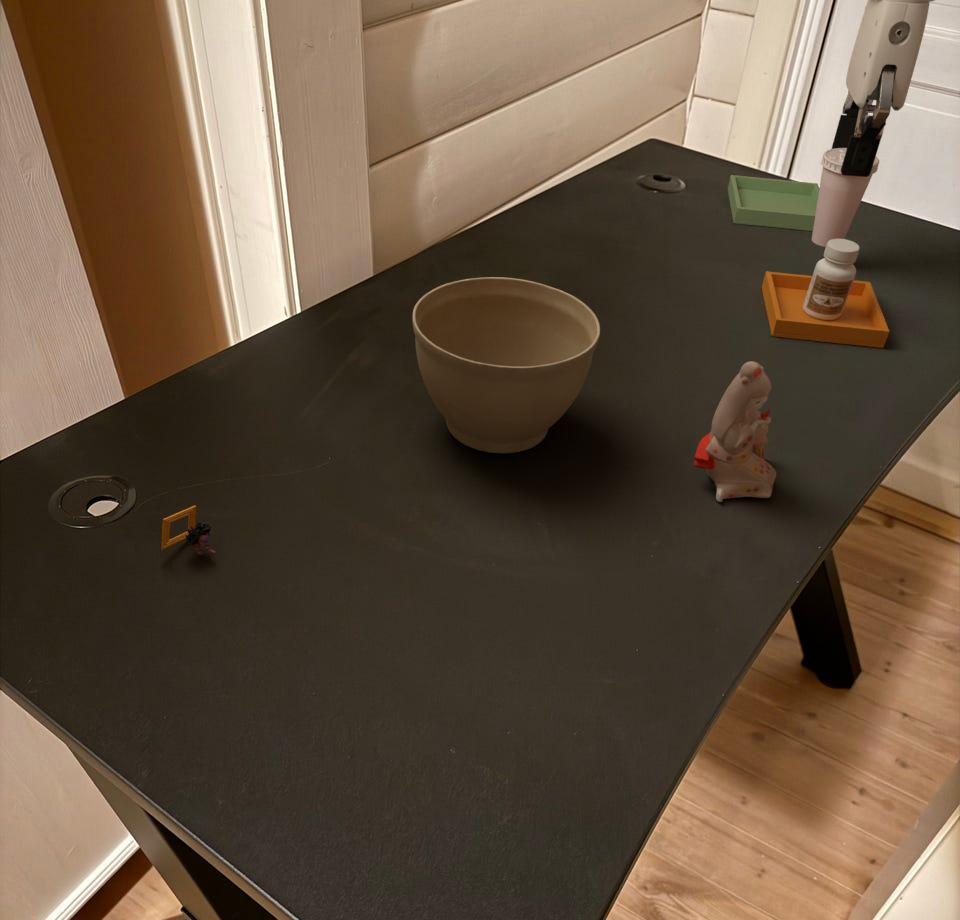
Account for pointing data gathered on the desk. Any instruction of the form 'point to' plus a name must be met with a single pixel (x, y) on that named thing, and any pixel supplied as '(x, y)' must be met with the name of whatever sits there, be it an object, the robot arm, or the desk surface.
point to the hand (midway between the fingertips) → (849, 162)
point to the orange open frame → (188, 532)
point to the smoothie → (837, 197)
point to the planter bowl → (503, 358)
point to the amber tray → (791, 321)
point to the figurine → (739, 438)
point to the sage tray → (773, 202)
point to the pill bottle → (832, 280)
